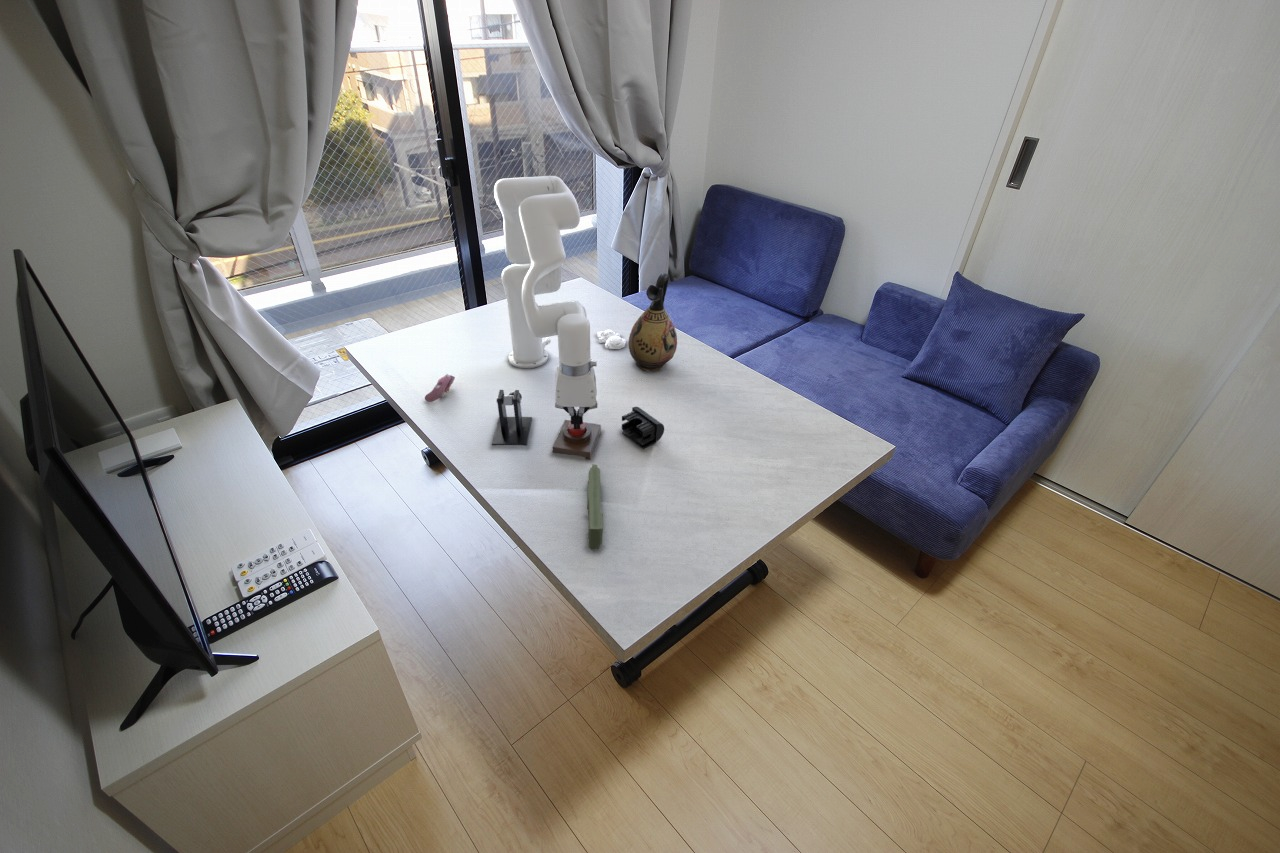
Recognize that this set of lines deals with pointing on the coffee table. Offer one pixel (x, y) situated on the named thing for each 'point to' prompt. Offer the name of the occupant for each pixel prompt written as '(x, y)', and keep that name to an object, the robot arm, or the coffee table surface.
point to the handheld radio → (594, 509)
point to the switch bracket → (511, 423)
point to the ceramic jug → (653, 331)
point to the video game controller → (440, 388)
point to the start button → (576, 430)
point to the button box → (577, 441)
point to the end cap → (642, 428)
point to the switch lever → (510, 398)
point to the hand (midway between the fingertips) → (577, 425)
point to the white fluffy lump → (611, 339)
